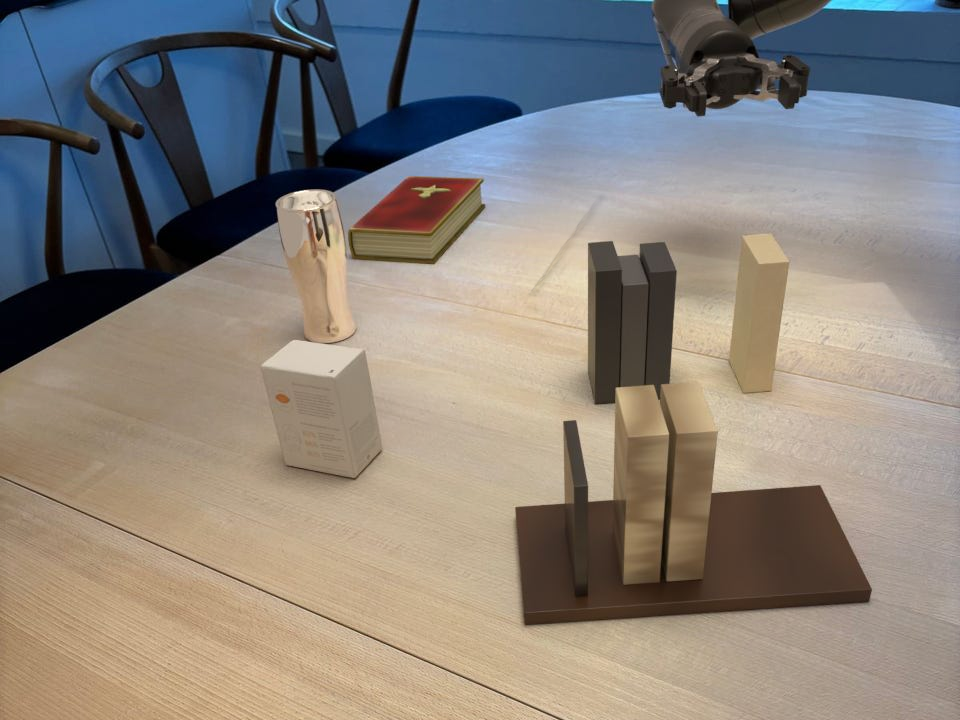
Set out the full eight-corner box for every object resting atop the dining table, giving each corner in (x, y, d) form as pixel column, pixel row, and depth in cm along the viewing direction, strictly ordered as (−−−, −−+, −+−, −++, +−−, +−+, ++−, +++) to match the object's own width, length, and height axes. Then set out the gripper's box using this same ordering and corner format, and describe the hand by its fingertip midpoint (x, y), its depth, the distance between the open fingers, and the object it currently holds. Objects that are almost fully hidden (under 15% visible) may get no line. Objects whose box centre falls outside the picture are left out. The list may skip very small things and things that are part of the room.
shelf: (818, 496, 84) (848, 340, 74) (869, 601, 73) (911, 436, 64) (515, 518, 85) (506, 366, 75) (524, 625, 74) (515, 465, 65)
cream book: (755, 358, 103) (771, 232, 94) (771, 391, 97) (789, 261, 89) (728, 360, 103) (741, 235, 94) (743, 393, 98) (758, 263, 89)
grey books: (658, 366, 103) (665, 236, 94) (668, 398, 98) (677, 264, 89) (587, 371, 103) (587, 242, 94) (594, 404, 98) (595, 271, 89)
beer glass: (371, 325, 115) (351, 193, 105) (333, 350, 111) (308, 214, 101) (327, 314, 119) (303, 185, 108) (288, 338, 114) (259, 205, 104)
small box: (384, 450, 95) (367, 348, 87) (355, 480, 91) (335, 376, 84) (314, 436, 97) (292, 337, 90) (283, 466, 94) (258, 364, 87)
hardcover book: (351, 258, 131) (345, 226, 128) (409, 203, 146) (405, 173, 143) (434, 263, 128) (430, 231, 125) (485, 206, 142) (483, 176, 139)
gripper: (650, 25, 103) (675, 63, 92) (785, 13, 103) (829, 50, 91) (647, 103, 109) (670, 149, 97) (776, 93, 108) (816, 137, 96)
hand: (747, 101), depth 94 cm, fingers open, 8 cm apart
